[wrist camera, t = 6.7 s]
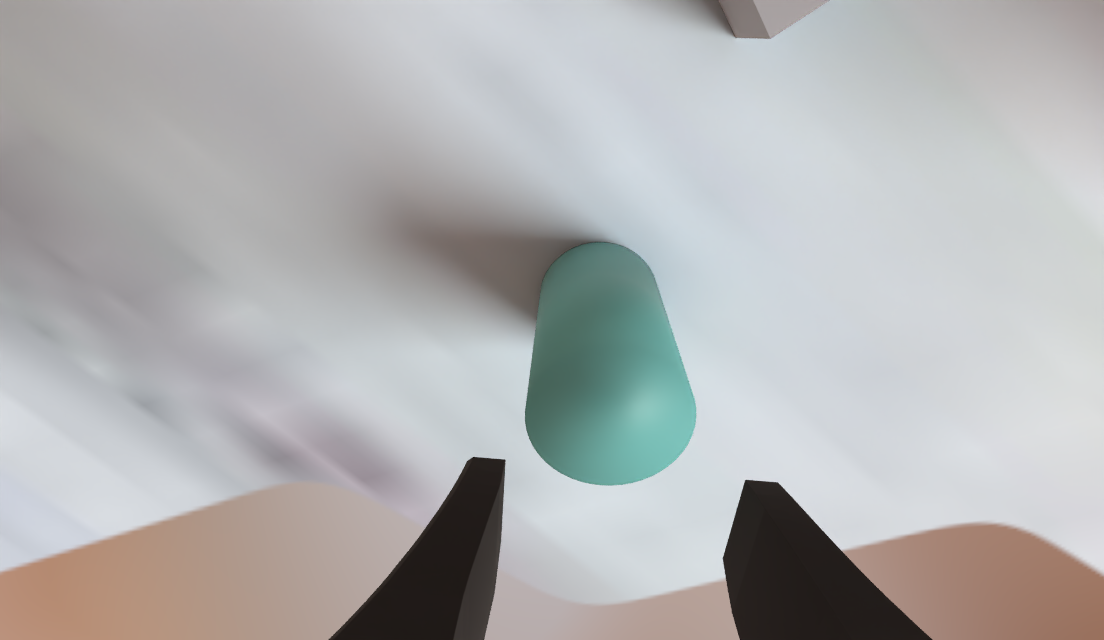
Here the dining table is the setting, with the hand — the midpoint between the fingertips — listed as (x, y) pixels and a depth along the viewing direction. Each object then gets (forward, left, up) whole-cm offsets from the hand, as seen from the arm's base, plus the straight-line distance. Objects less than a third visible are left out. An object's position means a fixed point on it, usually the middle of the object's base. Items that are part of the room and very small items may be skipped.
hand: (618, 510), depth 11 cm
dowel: (0, 0, -10) cm, 10 cm away
